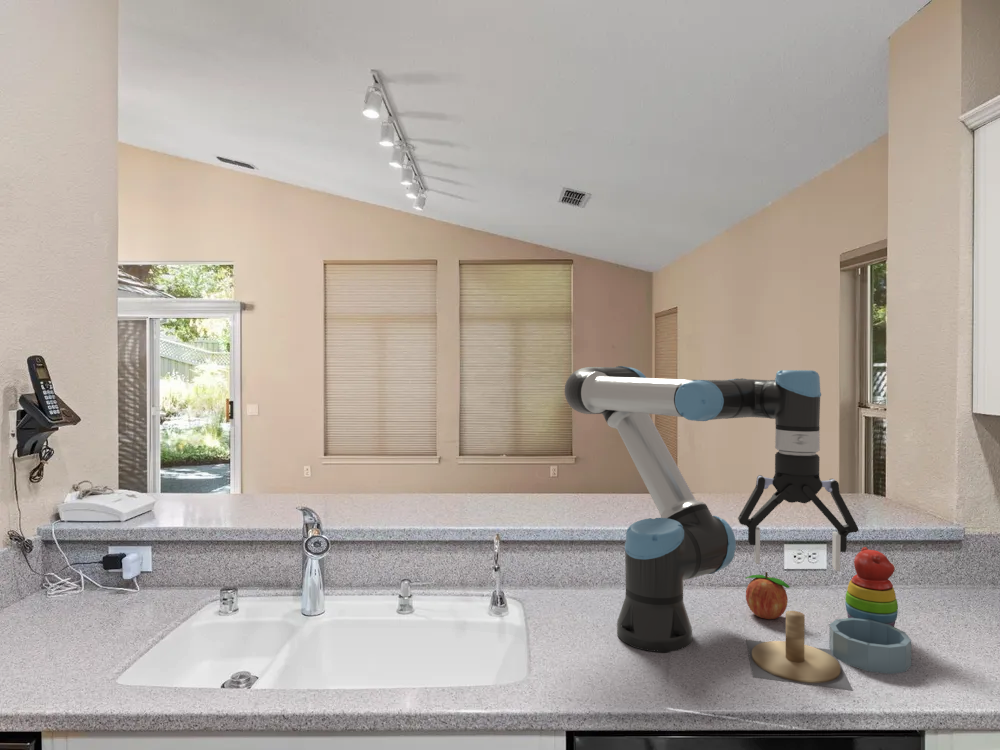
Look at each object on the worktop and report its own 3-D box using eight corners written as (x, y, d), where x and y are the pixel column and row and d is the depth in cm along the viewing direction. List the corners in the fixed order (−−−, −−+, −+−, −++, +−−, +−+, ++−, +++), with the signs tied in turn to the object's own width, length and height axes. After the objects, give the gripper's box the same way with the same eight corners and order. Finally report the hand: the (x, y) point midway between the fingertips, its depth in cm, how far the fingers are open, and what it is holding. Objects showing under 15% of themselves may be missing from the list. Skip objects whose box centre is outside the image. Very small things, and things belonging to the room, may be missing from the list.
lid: (755, 676, 112) (755, 625, 112) (748, 640, 127) (748, 595, 127) (849, 688, 108) (849, 635, 108) (830, 650, 122) (831, 603, 122)
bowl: (838, 668, 116) (838, 641, 115) (824, 639, 128) (824, 614, 128) (920, 679, 112) (920, 651, 112) (897, 647, 124) (897, 622, 124)
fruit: (777, 628, 133) (777, 582, 133) (735, 614, 141) (735, 570, 141) (796, 618, 139) (796, 573, 139) (755, 605, 146) (755, 563, 146)
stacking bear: (911, 649, 123) (912, 559, 123) (855, 645, 125) (856, 556, 125) (889, 627, 134) (889, 544, 134) (837, 623, 136) (838, 541, 136)
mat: (753, 678, 112) (753, 676, 112) (745, 640, 127) (745, 639, 127) (853, 692, 107) (853, 690, 107) (833, 651, 123) (833, 649, 123)
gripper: (727, 452, 117) (726, 565, 117) (878, 458, 110) (876, 578, 110) (725, 447, 124) (724, 553, 124) (866, 452, 117) (864, 564, 117)
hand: (795, 565), depth 117 cm, fingers open, 13 cm apart
